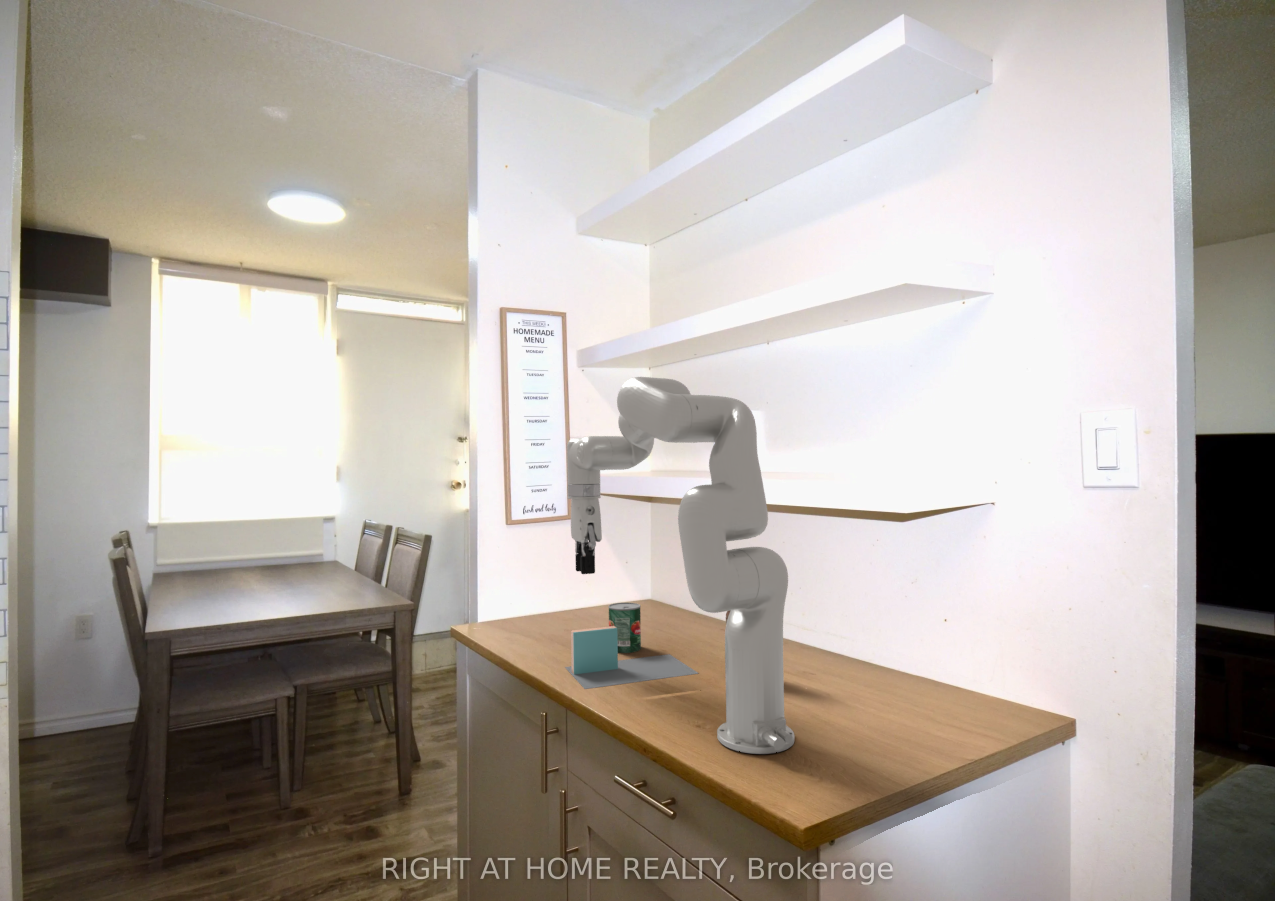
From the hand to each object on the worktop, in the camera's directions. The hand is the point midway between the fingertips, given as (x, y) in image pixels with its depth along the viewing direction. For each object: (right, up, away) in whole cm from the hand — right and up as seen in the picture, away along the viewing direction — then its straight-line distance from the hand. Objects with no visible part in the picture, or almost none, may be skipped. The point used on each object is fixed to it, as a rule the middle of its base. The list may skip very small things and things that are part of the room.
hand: (585, 571), depth 157 cm
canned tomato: (+9, -22, +11) cm, 26 cm away
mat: (+10, -21, -7) cm, 24 cm away
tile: (+3, -21, -6) cm, 22 cm away
